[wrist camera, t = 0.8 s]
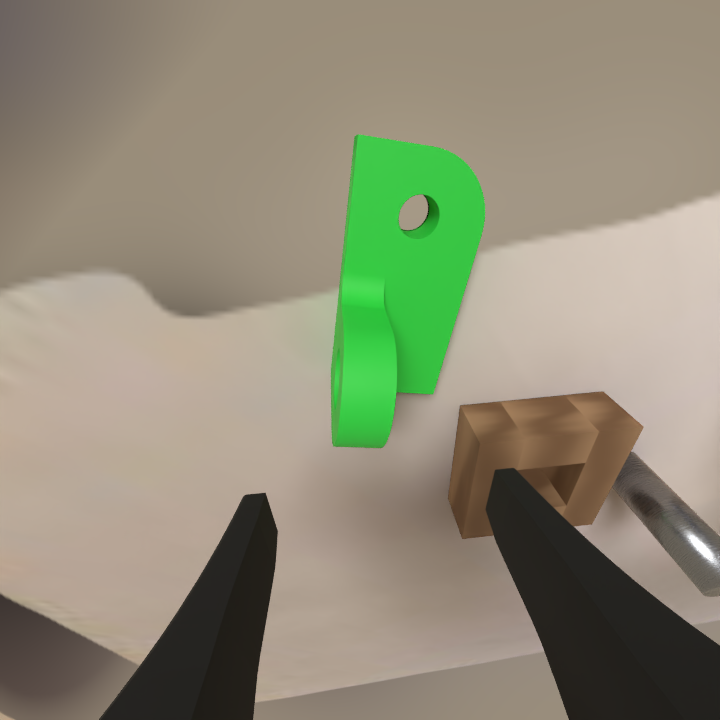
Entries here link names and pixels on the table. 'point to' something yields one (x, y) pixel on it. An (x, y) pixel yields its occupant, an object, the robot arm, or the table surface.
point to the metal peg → (672, 523)
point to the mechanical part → (398, 281)
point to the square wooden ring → (540, 454)
